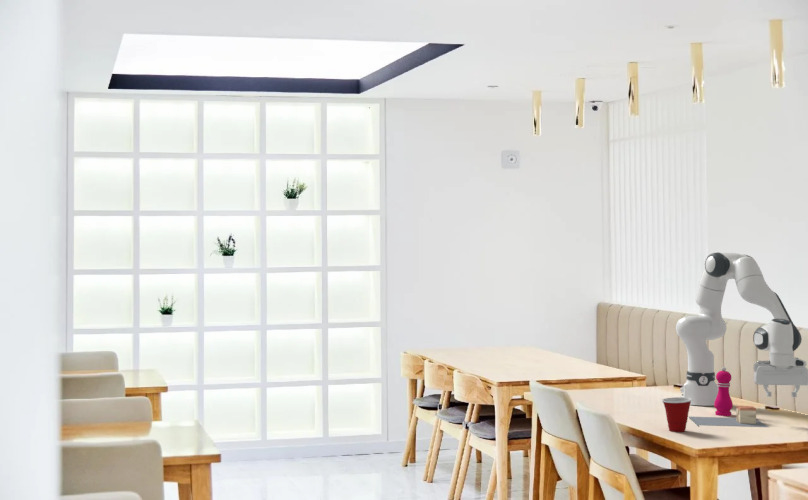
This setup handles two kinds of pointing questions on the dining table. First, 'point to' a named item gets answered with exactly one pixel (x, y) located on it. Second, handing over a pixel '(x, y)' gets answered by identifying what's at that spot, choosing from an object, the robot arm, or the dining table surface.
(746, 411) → the maple cube
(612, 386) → the dining table surface
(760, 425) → the slate mat
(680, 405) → the plastic cup
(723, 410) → the pepper mill
